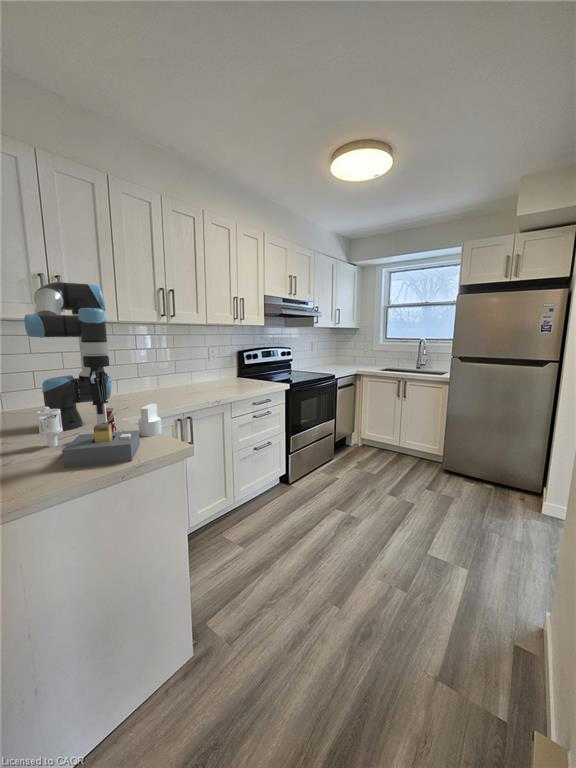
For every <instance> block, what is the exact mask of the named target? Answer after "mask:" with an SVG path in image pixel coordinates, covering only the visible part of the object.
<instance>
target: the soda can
mask: <svg viewBox="0 0 576 768" xmlns="http://www.w3.org/2000/svg"><path fill="white" fill-rule="evenodd" d="M106 414H107V422H106V423H97V424H108V423H111V428H112V432H118V423H117V413H116V412H115V410H114V408H113V407H106Z"/></svg>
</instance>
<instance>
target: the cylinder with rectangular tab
mask: <svg viewBox="0 0 576 768" xmlns="http://www.w3.org/2000/svg"><path fill="white" fill-rule="evenodd" d="M157 406H158V404H157V403H149V404H147V405H145V406H143V407H140V419H138V430H139V436H141V435H143V436H142V437H150V436H149V435H153V436H155V435H154V434H157V433H158V434H157V435H161V434H162V430H163V429H162V418H161V417H159V416H158V407H157Z"/></svg>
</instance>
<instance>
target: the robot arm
mask: <svg viewBox="0 0 576 768" xmlns="http://www.w3.org/2000/svg"><path fill="white" fill-rule="evenodd" d="M33 301H34V303H35V309H34V313H27V314H25V315H24V318H23V319H24V329H25V333H26V335H27V336H28V337H31V338H42V339H43V338H78V344H79V355H80V362H81V363H80V365H81V371H80V372H79V373H78V377H77V378H75V377H74V375H62V376H61V375H60V376H56V377H52V378H47V379H45V380H43V382H42V383H41V385H42V393H43V402H44V407H49V408H50V409H60V412H61V421H62V429H63V431H64V432H65V431H69V430H73V429H77V428H79V427H81V426H83V425H84V423H83V418H82V416H81V415H80V413H79V411H78V409H77V404H82V403H91V402H92V406H95V412H96V423H97V424H98V423H106V422H107V414H106V408H107V406H106V404H108V403H109V401H108V400H109V399H110V398H111V396H112V384H113V383H112V376H110V375H108V372H107V371H105V367H106V368H107V367H109V366H110V357H109V355H108V354H109V352H110V351H109V344H108V338H107V337H108V336H107V325H106V320H107V319H106V315H105V312H106V311H107V310H106V304H105V299H104V295H103V292H102V288H100V286H99V285H96V284H90V283H75V282H62V281H57V282H50V283H48V284H47V283H46V284H45V285H42V286H40V287H39V288H38V289H37V290H36V291H35V293H34V296H33ZM61 310H63V311H64V310H65V311H71V315H70V314H68V315H67V314H62V311H61ZM49 413H50V412H49ZM57 415H58V414H56V415H51V417H52V416H54V417H56V416H57ZM47 418H50V417H47ZM43 420H46V419H43ZM43 422H44V421H43ZM63 431H62V432H63Z"/></svg>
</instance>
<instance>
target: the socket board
mask: <svg viewBox="0 0 576 768" xmlns="http://www.w3.org/2000/svg"><path fill="white" fill-rule="evenodd" d="M112 439H113V441H111V442H99V443H95V437H94V433H86V434H85V433H84V434H82V433H81V434H78V435H77V436H76V437H75V438H74V439H73V440H72V441H70V442H69V443H68V444H67V445H66V446H65V447H64V448H63V449H61V452H62V453H61V454H62V461H63V468H75V467H83V466H93V465H105V464H115V463H124V462H132V461H133V460H134V457H135V455H136V453H137V452H138V450H139V447H140V446H139V445H141V443H140V442H141V441H140V434H139V429H137V430H135V429H134V430H124V431H123V430H122V431H117V432H112Z"/></svg>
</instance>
